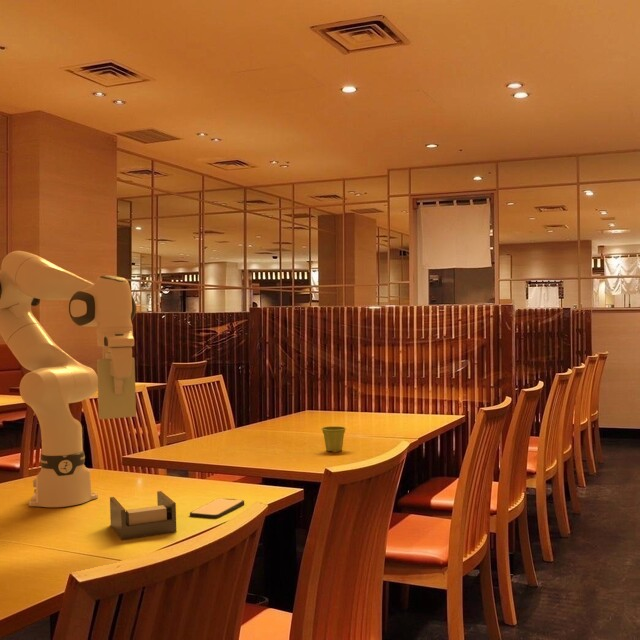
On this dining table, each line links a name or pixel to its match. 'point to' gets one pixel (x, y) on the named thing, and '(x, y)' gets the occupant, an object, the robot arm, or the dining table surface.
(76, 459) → the robot arm
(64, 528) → the dining table surface
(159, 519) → the offcut upper
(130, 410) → the tall sheet
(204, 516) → the phone case
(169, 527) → the rack
